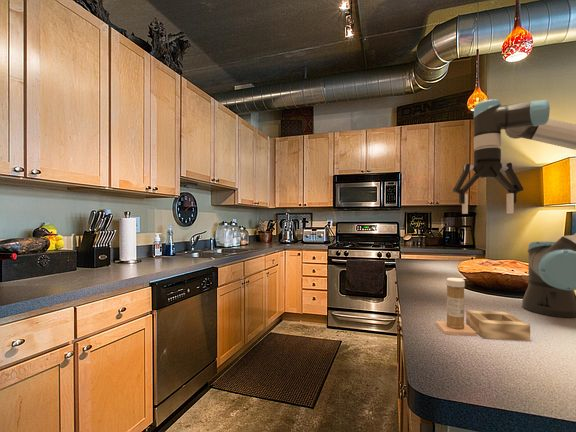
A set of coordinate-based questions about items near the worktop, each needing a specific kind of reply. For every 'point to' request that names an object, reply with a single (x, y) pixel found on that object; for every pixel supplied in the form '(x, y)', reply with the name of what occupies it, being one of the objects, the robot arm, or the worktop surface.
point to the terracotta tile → (449, 330)
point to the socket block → (498, 325)
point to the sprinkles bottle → (455, 302)
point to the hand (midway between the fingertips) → (487, 213)
